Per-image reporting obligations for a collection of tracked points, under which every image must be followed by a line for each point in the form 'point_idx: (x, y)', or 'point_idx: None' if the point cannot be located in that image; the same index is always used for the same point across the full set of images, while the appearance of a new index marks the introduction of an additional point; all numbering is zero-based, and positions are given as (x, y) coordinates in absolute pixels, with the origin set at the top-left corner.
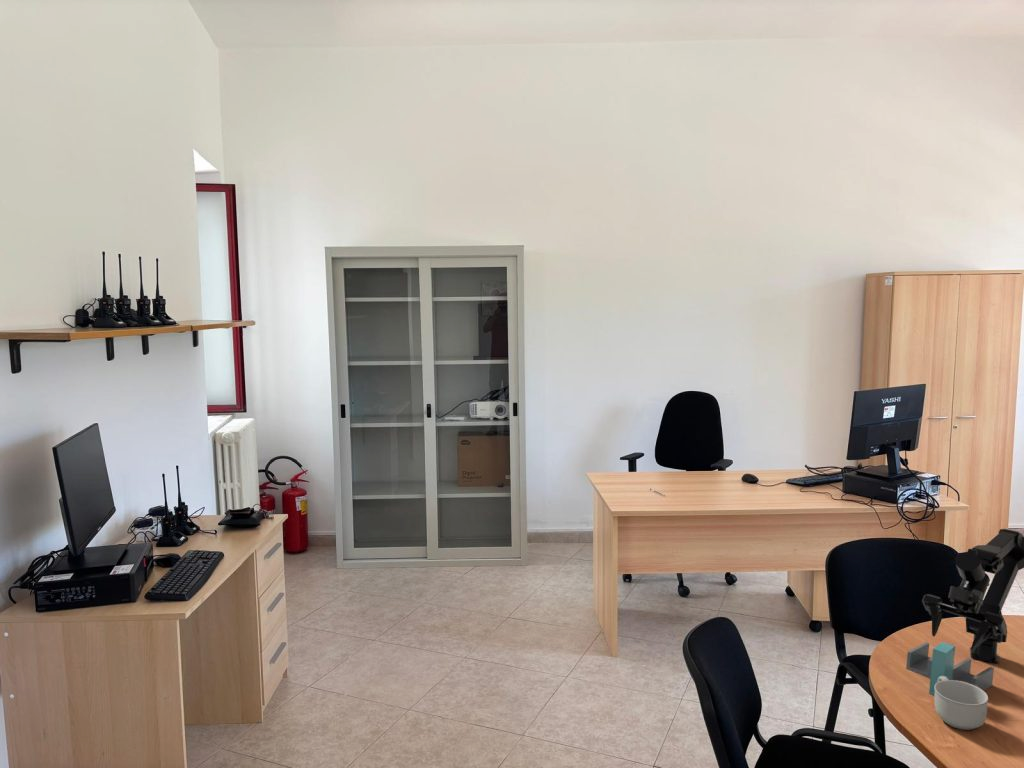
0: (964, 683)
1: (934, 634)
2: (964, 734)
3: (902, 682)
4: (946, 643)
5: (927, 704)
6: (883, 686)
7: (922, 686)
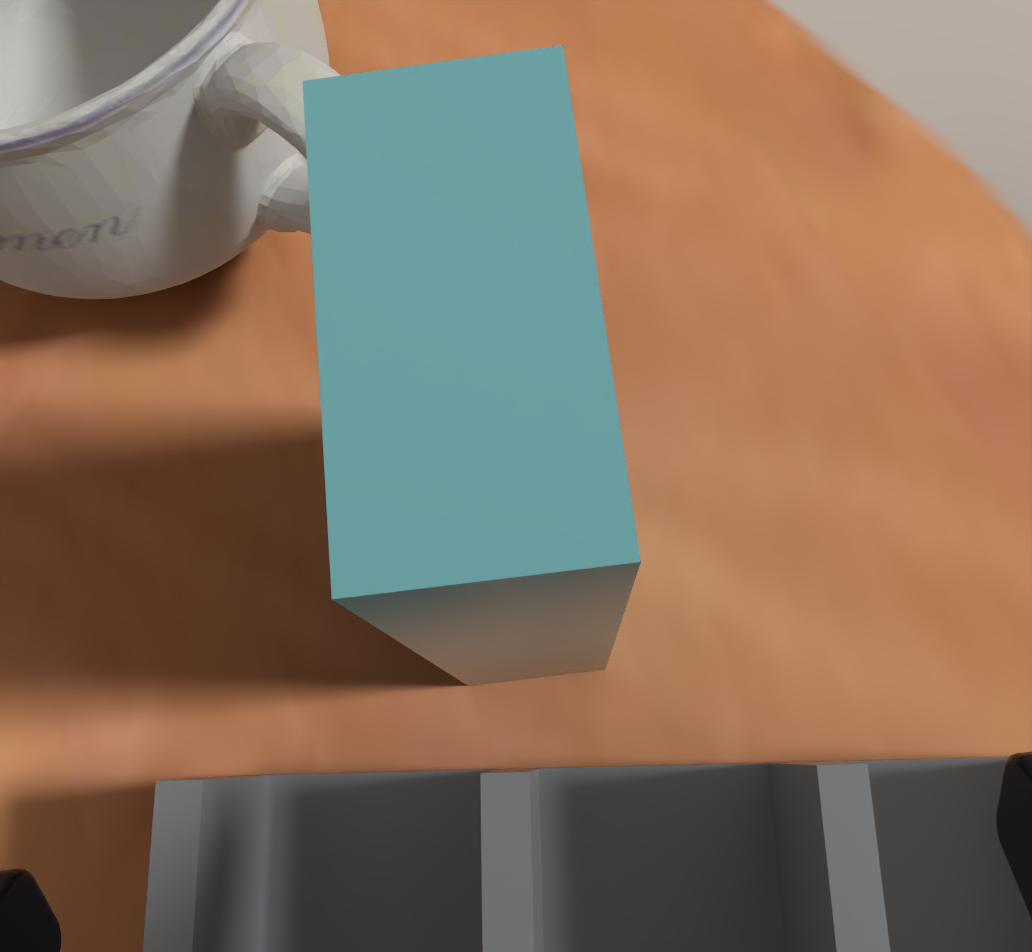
0: (33, 126)
1: (1020, 818)
2: None
3: (856, 388)
4: (527, 541)
5: None
6: (894, 154)
7: (692, 494)
